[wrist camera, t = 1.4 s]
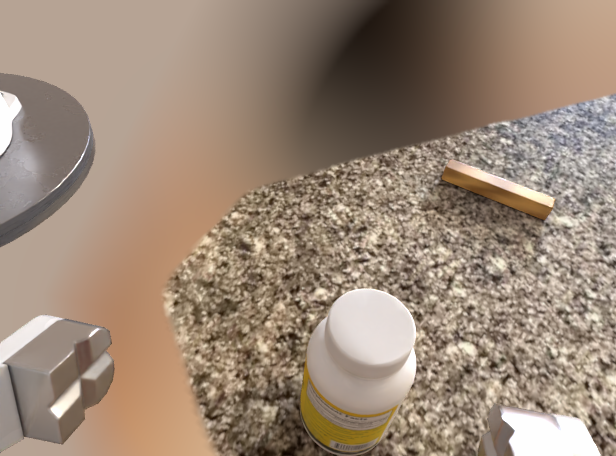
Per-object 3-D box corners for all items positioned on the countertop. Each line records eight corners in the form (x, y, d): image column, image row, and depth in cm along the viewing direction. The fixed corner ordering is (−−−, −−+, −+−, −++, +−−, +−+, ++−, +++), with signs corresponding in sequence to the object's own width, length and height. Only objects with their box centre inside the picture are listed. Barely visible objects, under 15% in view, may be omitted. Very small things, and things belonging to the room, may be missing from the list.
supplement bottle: (338, 352, 29) (365, 257, 22) (405, 411, 27) (458, 327, 20) (279, 409, 26) (287, 321, 19) (347, 481, 24) (385, 412, 17)
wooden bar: (440, 179, 43) (445, 166, 42) (445, 171, 44) (450, 158, 43) (544, 221, 40) (553, 208, 39) (547, 211, 41) (555, 198, 40)
